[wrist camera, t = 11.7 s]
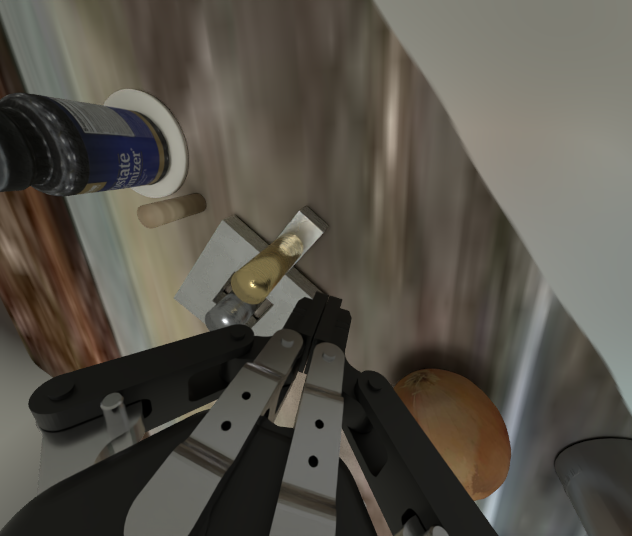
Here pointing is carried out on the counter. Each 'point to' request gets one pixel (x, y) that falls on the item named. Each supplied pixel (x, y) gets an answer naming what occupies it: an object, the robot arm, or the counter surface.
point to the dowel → (170, 210)
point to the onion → (460, 427)
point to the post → (229, 312)
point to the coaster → (170, 131)
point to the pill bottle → (76, 146)
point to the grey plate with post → (253, 270)
